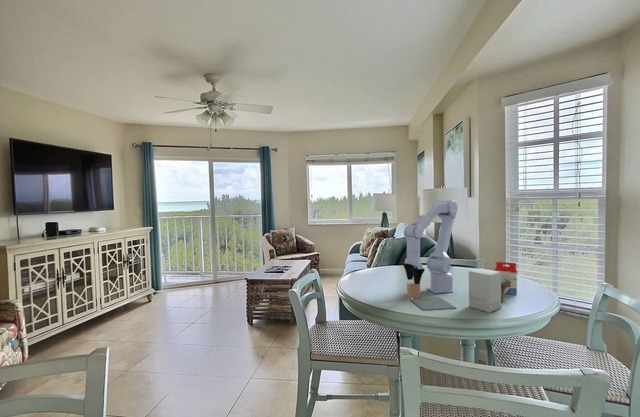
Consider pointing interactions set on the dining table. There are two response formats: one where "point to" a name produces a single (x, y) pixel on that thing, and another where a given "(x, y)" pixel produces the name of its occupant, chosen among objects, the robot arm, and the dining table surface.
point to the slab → (413, 290)
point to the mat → (432, 303)
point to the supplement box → (485, 289)
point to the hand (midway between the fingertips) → (413, 281)
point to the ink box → (508, 276)
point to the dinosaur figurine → (503, 287)
